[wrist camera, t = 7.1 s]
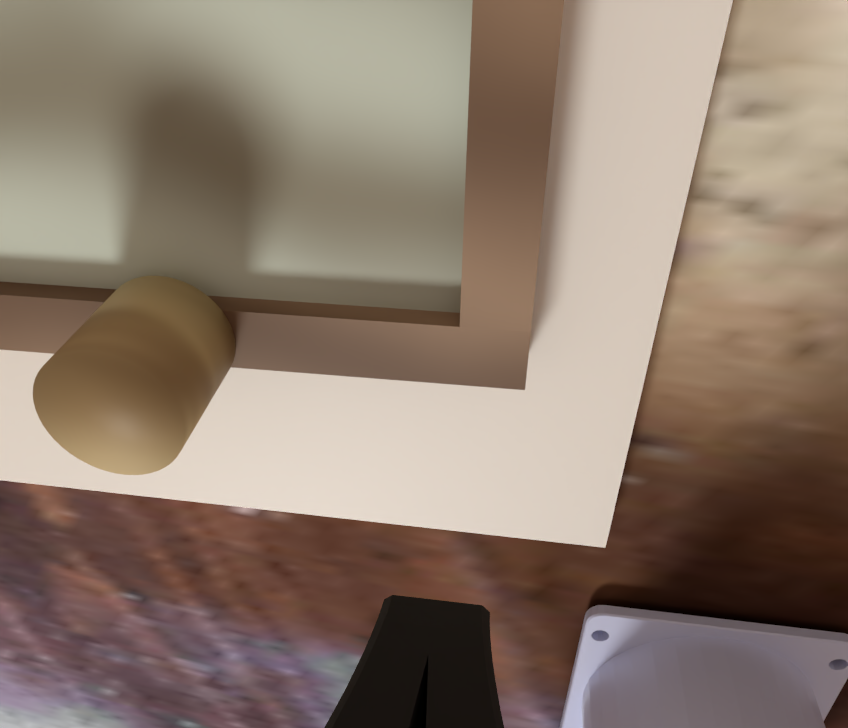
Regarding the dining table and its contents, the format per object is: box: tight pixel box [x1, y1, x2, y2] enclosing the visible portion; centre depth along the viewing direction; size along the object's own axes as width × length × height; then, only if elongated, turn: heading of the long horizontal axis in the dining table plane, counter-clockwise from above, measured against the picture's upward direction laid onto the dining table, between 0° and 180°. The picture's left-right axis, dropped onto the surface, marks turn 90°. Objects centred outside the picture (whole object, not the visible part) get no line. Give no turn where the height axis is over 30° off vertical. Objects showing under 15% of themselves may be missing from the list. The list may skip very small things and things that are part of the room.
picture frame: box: [0, 0, 564, 475], centre depth 14 cm, size 11×16×4 cm
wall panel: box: [0, 0, 733, 548], centre depth 17 cm, size 20×21×1 cm
